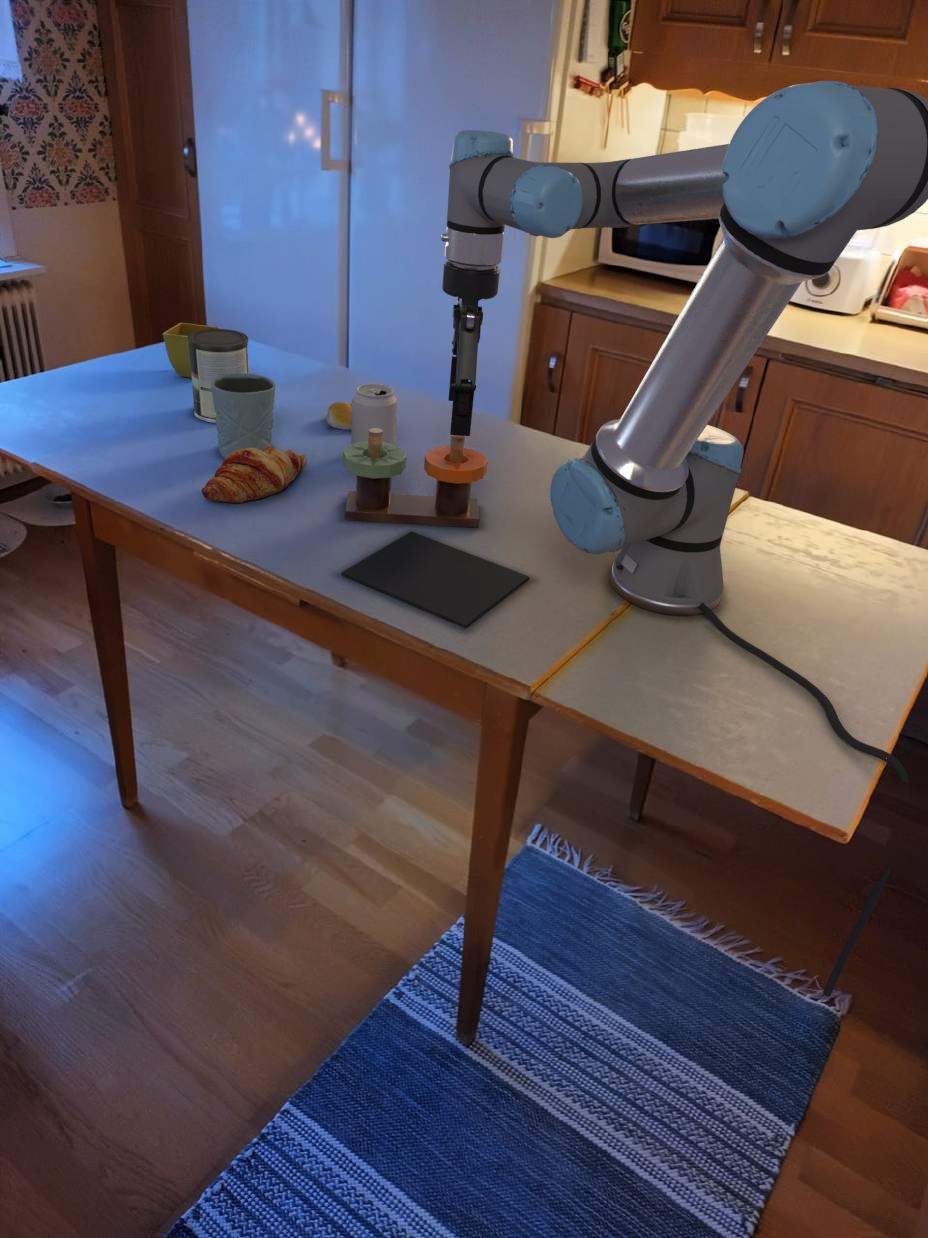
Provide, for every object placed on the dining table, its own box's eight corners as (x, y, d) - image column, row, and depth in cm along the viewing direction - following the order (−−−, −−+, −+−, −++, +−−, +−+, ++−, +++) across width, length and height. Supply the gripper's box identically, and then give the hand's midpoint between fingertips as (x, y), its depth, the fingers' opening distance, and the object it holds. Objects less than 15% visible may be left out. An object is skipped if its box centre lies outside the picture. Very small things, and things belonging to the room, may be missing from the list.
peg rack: (476, 507, 145) (484, 428, 138) (478, 527, 139) (486, 446, 132) (348, 499, 143) (349, 419, 136) (344, 520, 137) (346, 437, 130)
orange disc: (497, 473, 138) (498, 460, 137) (456, 488, 132) (457, 475, 131) (454, 454, 143) (455, 441, 142) (412, 468, 137) (413, 455, 136)
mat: (528, 579, 127) (529, 576, 126) (465, 628, 115) (466, 625, 115) (411, 534, 135) (411, 531, 135) (341, 575, 124) (341, 572, 123)
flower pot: (165, 378, 183) (161, 332, 178) (184, 365, 190) (180, 321, 185) (207, 384, 182) (204, 338, 177) (224, 371, 189) (222, 327, 184)
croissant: (291, 482, 155) (274, 436, 153) (332, 471, 148) (315, 423, 146) (194, 522, 139) (174, 471, 137) (236, 511, 133) (215, 458, 131)
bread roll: (380, 430, 169) (381, 409, 167) (332, 432, 166) (332, 411, 164) (369, 414, 175) (369, 393, 173) (322, 416, 172) (322, 395, 170)
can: (388, 468, 155) (390, 398, 148) (345, 461, 156) (346, 392, 149) (399, 451, 161) (402, 384, 155) (358, 445, 162) (359, 378, 156)
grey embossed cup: (203, 455, 153) (198, 384, 146) (236, 436, 161) (233, 368, 155) (257, 468, 150) (254, 397, 144) (288, 448, 158) (286, 379, 152)
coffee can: (181, 412, 168) (174, 335, 161) (225, 399, 175) (220, 325, 168) (220, 428, 163) (215, 348, 156) (263, 414, 171) (260, 338, 163)
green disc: (417, 468, 137) (418, 455, 136) (372, 483, 131) (372, 470, 130) (376, 449, 142) (376, 436, 141) (331, 462, 136) (331, 450, 135)
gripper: (442, 241, 132) (432, 386, 143) (445, 283, 111) (433, 448, 122) (494, 245, 132) (480, 389, 144) (507, 288, 111) (489, 452, 123)
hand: (458, 417), depth 133 cm, fingers open, 13 cm apart
